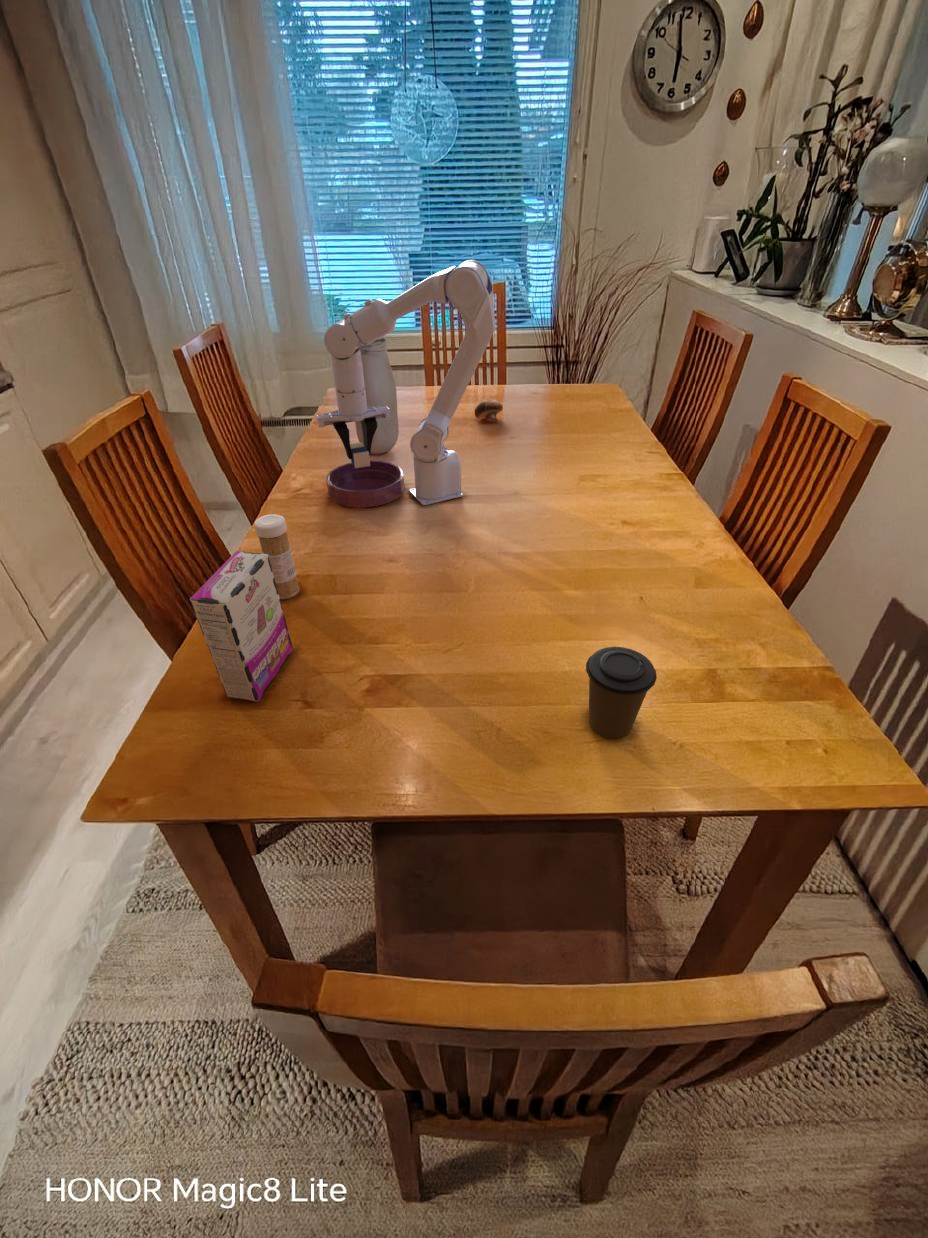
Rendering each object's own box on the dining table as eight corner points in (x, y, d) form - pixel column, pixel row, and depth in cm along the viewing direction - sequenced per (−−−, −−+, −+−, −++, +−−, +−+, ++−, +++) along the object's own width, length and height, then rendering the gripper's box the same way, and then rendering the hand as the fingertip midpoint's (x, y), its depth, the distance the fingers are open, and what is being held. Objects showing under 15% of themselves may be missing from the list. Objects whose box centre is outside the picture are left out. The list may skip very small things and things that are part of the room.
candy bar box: (262, 645, 87) (235, 549, 77) (294, 650, 86) (271, 552, 76) (223, 699, 78) (186, 597, 68) (258, 704, 77) (226, 602, 67)
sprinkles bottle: (286, 582, 100) (270, 510, 92) (306, 590, 98) (291, 517, 90) (266, 595, 97) (247, 522, 89) (285, 603, 95) (268, 529, 87)
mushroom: (504, 414, 158) (496, 392, 157) (476, 425, 160) (469, 403, 159) (508, 420, 166) (501, 398, 165) (482, 430, 168) (474, 409, 167)
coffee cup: (657, 728, 73) (673, 668, 67) (611, 758, 69) (624, 697, 63) (608, 690, 78) (620, 632, 72) (564, 717, 75) (572, 657, 69)
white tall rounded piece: (383, 462, 141) (371, 335, 124) (351, 453, 145) (335, 330, 129) (408, 448, 148) (399, 326, 131) (376, 441, 152) (364, 322, 135)
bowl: (388, 472, 136) (386, 455, 134) (416, 499, 125) (415, 481, 123) (319, 486, 131) (317, 469, 128) (342, 516, 119) (340, 497, 117)
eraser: (348, 458, 126) (346, 444, 124) (363, 455, 127) (361, 441, 125) (355, 468, 122) (353, 454, 120) (370, 466, 123) (369, 451, 121)
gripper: (317, 399, 110) (328, 468, 118) (391, 389, 114) (397, 457, 122) (310, 389, 115) (321, 455, 123) (381, 380, 119) (387, 445, 128)
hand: (358, 455), depth 123 cm, fingers closed on eraser, 3 cm apart
